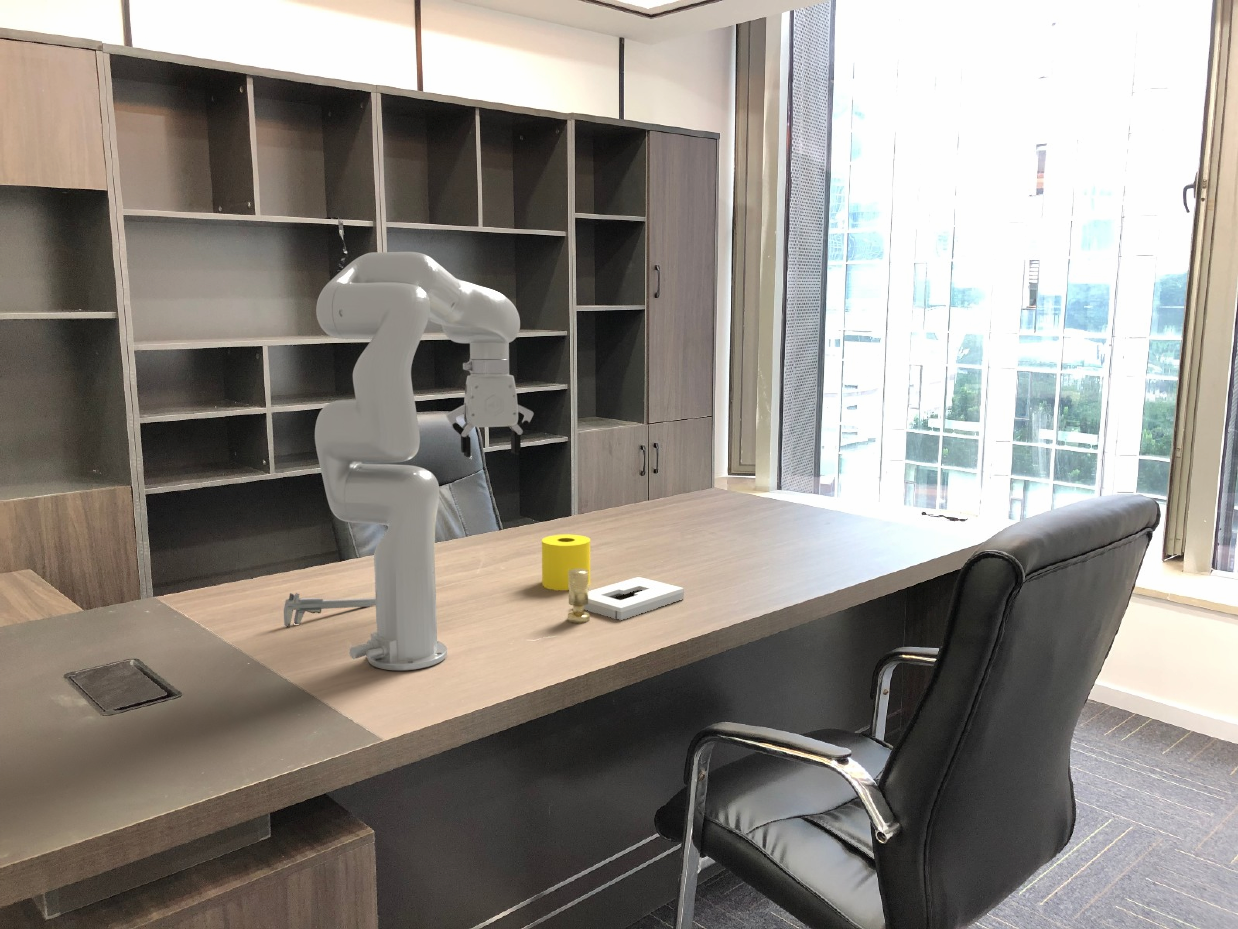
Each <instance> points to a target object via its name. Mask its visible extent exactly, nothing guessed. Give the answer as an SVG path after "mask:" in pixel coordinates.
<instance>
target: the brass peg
mask: <svg viewBox="0 0 1238 929" xmlns="http://www.w3.org/2000/svg"><path fill="white" fill-rule="evenodd" d="M588 591H589V586H588V570H586V569H572V570H569V591H568V605H570V606H572V611H571V612H568V613H567V621H568V622H569V623H570V624H571V623H572V624H585V623H587V622H590V620H591V619H590V613H589V612H588V611H587V612H586V611H585V610H584V605H587V604H588Z"/></svg>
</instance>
